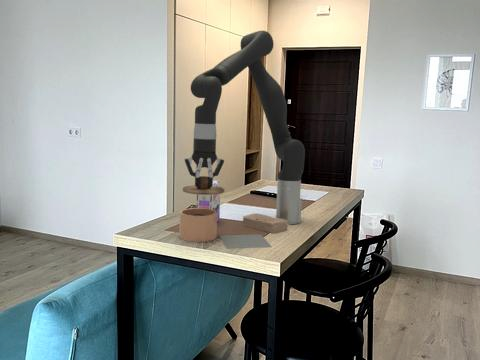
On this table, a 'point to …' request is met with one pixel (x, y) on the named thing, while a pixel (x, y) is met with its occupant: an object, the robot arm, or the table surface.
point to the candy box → (210, 201)
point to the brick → (265, 223)
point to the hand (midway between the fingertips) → (203, 188)
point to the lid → (203, 188)
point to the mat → (244, 241)
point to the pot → (198, 225)
